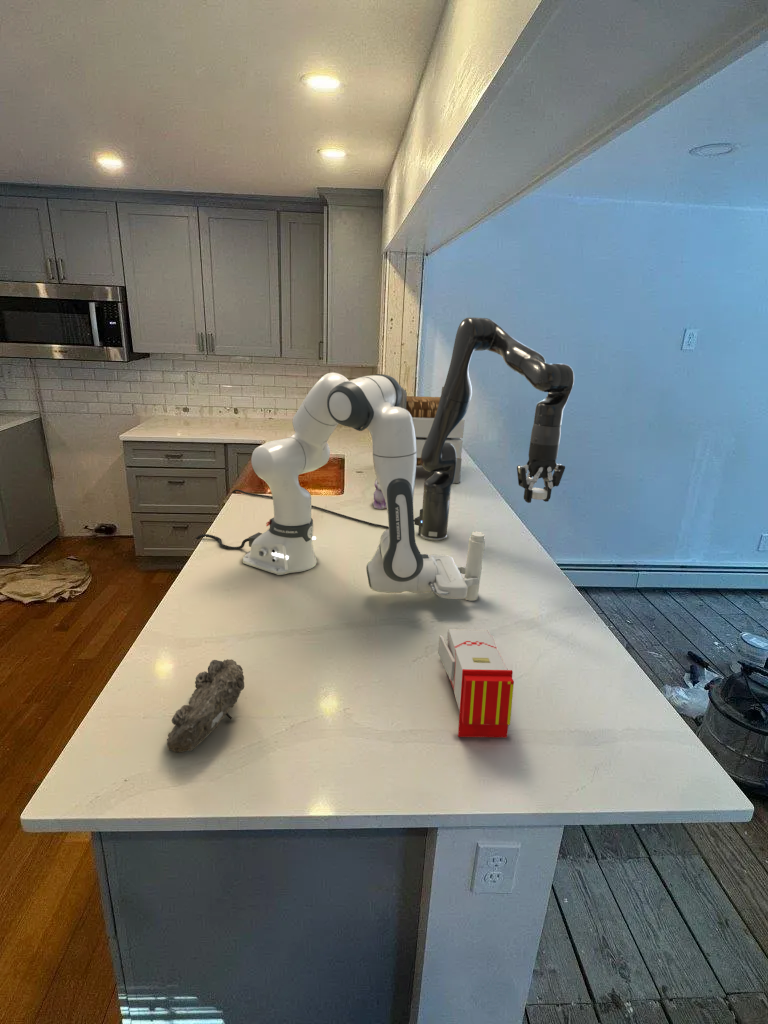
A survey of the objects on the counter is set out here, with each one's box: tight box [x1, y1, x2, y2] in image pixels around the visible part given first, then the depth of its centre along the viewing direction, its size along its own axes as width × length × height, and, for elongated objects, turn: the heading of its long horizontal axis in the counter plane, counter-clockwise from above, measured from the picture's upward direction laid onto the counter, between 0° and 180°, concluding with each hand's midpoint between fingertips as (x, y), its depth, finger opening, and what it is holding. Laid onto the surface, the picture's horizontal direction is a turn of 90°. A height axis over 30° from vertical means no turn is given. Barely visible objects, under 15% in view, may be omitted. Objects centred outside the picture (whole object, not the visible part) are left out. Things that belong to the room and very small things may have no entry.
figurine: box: [372, 478, 387, 510], centre depth 225 cm, size 9×10×15 cm
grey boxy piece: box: [398, 384, 465, 484], centre depth 268 cm, size 34×33×41 cm
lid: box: [531, 487, 547, 501], centre depth 156 cm, size 5×5×2 cm
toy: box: [437, 628, 515, 738], centre depth 117 cm, size 12×13×30 cm
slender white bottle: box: [463, 531, 486, 602], centre depth 155 cm, size 4×4×19 cm
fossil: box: [166, 658, 245, 754], centre depth 106 cm, size 22×10×15 cm
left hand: (475, 575), depth 156 cm, fingers closed on slender white bottle, 4 cm apart
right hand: (536, 501), depth 156 cm, fingers closed on lid, 5 cm apart
